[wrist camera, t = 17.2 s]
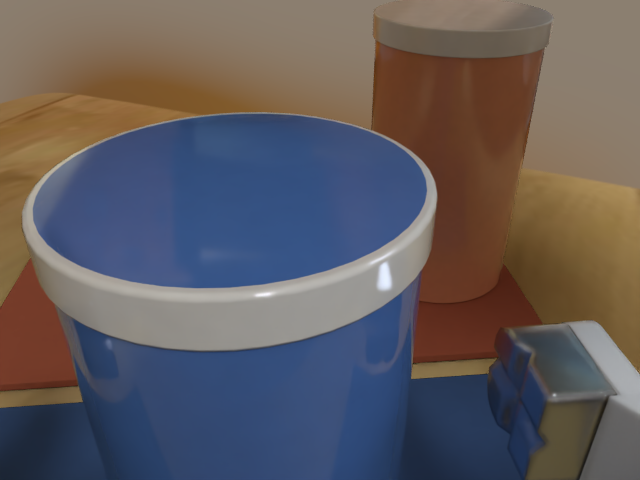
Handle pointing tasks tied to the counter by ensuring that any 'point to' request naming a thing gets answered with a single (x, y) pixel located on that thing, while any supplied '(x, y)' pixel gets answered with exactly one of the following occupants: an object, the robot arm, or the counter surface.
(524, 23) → the terracotta canister
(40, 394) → the counter surface
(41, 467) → the blue mat
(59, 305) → the blue canister
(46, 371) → the terracotta mat
